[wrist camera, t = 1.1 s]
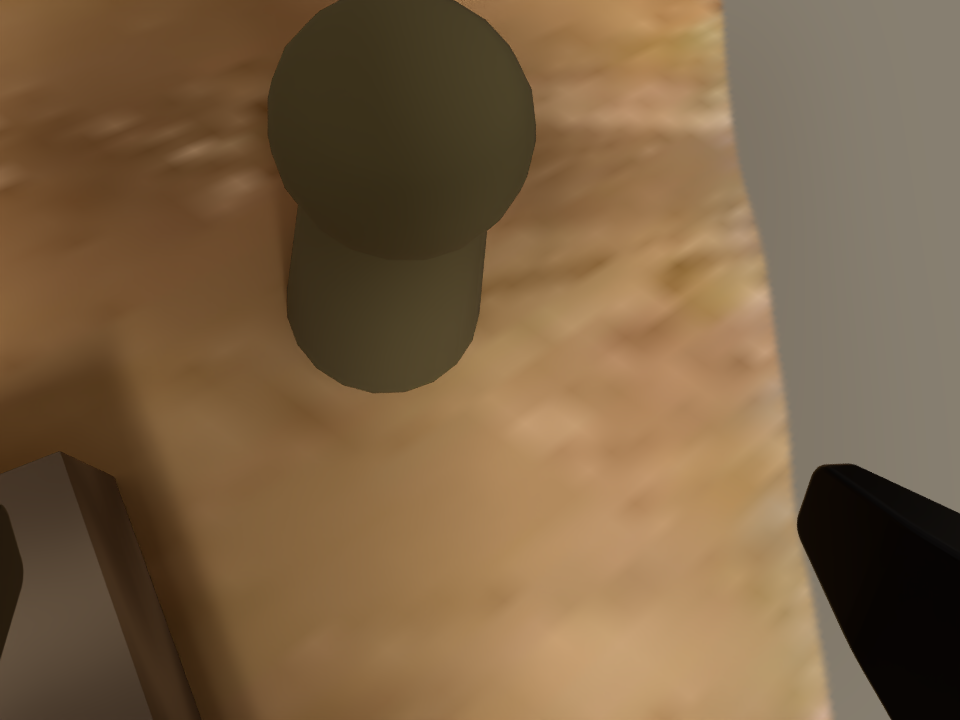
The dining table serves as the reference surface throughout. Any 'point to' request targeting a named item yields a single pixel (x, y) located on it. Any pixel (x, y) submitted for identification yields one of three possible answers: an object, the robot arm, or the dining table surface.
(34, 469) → the walnut plinth
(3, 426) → the dining table surface
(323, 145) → the cork
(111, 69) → the dining table surface
